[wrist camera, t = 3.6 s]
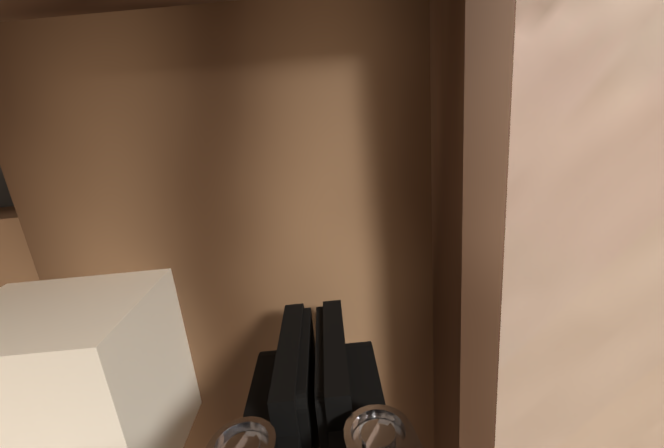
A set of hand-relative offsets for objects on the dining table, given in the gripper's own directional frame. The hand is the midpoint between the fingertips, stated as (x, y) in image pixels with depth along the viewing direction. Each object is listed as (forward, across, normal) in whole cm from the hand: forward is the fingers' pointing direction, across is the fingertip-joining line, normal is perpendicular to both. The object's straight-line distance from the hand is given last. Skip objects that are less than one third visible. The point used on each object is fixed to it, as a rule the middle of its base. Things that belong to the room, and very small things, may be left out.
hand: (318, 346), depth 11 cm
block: (+1, +7, 0) cm, 7 cm away
